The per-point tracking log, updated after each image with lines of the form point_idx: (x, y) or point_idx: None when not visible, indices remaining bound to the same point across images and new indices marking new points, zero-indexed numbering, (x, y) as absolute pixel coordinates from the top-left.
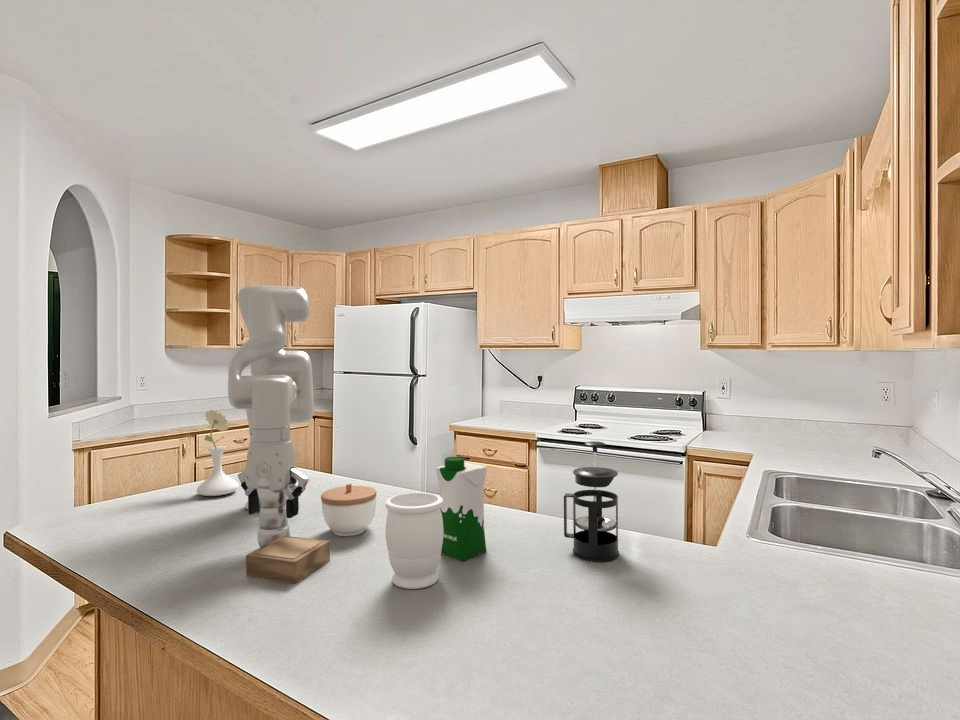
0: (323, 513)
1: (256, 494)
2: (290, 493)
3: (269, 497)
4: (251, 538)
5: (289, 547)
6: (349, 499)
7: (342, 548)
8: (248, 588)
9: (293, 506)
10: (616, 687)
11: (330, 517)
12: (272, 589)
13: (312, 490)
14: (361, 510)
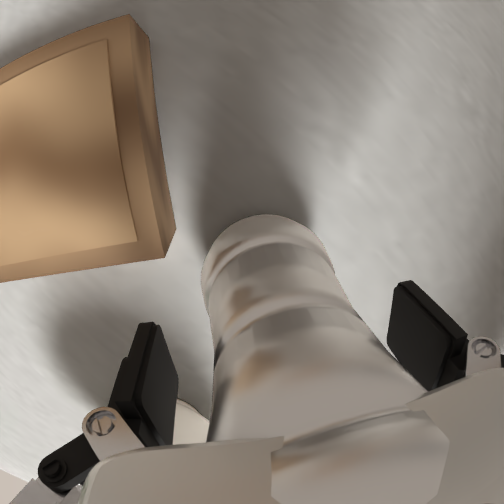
0: (188, 437)
1: (438, 382)
2: (95, 443)
3: (261, 378)
4: (392, 285)
5: (28, 162)
6: None
7: (70, 334)
8: (82, 2)
9: (116, 381)
10: None
11: None
12: (22, 41)
13: None
14: None
